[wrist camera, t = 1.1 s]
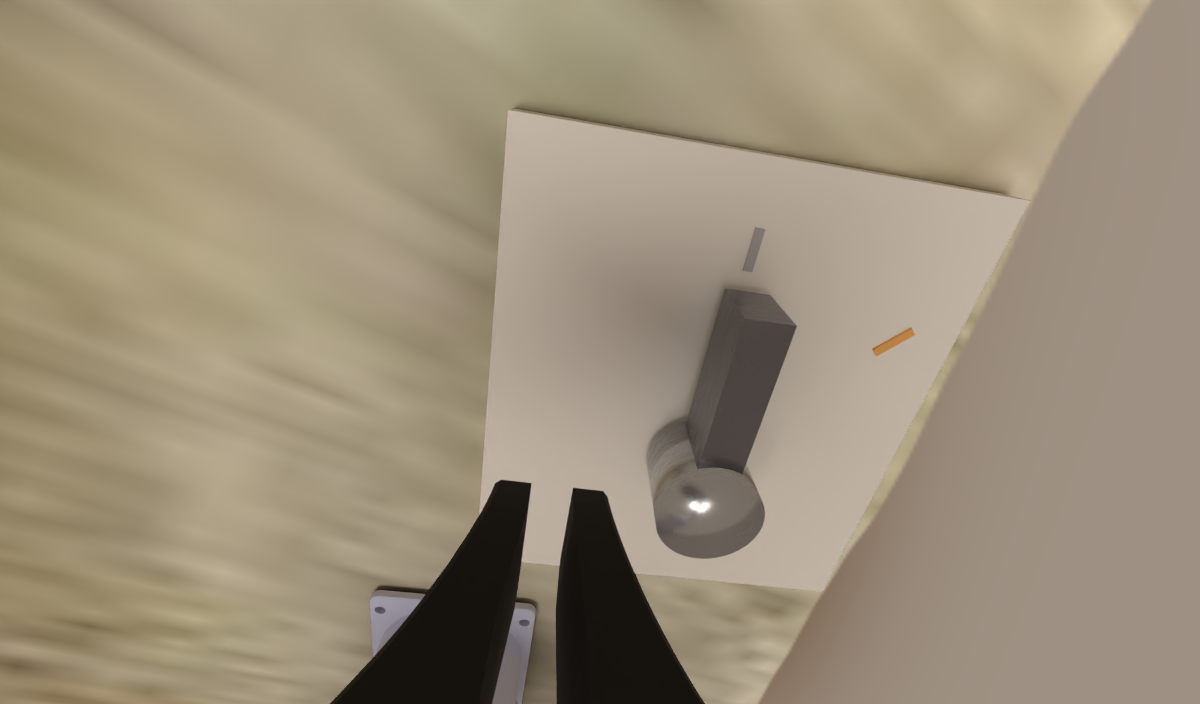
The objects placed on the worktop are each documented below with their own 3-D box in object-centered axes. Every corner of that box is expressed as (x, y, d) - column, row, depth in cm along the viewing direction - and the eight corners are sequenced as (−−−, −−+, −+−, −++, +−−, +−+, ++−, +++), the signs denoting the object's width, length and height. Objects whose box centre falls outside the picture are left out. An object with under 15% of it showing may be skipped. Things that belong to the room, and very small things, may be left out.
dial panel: (812, 570, 25) (823, 593, 24) (481, 536, 24) (475, 559, 22) (1002, 193, 17) (1032, 201, 16) (513, 108, 15) (507, 110, 14)
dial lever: (725, 498, 21) (746, 563, 18) (638, 488, 20) (646, 553, 18) (798, 296, 17) (840, 338, 14) (691, 280, 16) (712, 320, 14)
